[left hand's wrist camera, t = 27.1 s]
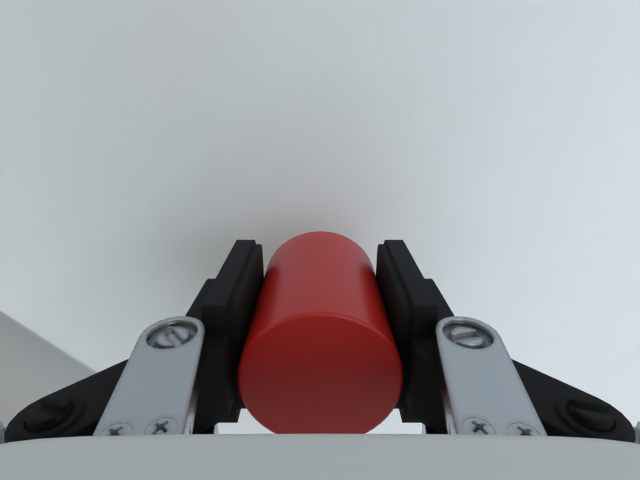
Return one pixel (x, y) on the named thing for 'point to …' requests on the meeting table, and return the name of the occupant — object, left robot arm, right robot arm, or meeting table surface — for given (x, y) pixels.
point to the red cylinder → (320, 342)
